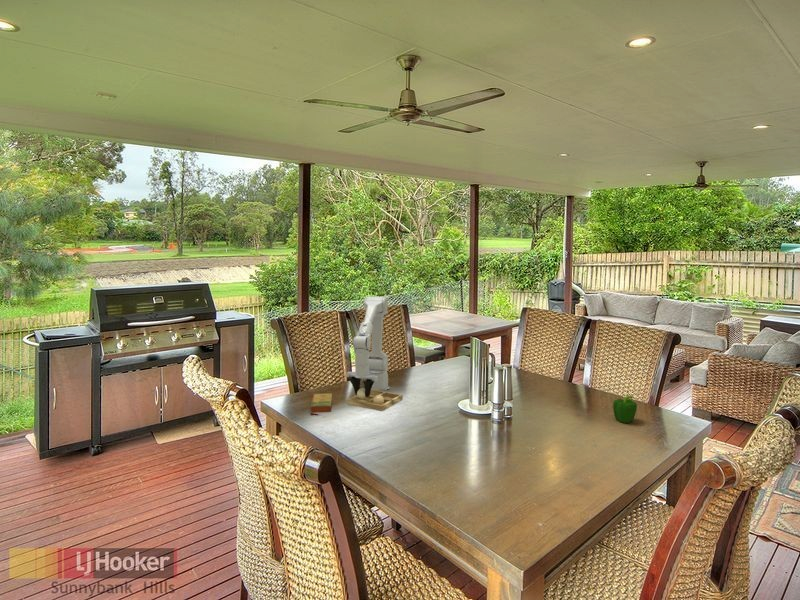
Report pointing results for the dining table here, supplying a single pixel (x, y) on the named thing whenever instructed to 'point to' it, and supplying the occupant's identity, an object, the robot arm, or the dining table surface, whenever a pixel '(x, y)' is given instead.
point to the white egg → (361, 393)
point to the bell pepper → (624, 409)
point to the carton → (321, 403)
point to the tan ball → (378, 400)
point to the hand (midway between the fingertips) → (362, 395)
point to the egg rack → (368, 401)
